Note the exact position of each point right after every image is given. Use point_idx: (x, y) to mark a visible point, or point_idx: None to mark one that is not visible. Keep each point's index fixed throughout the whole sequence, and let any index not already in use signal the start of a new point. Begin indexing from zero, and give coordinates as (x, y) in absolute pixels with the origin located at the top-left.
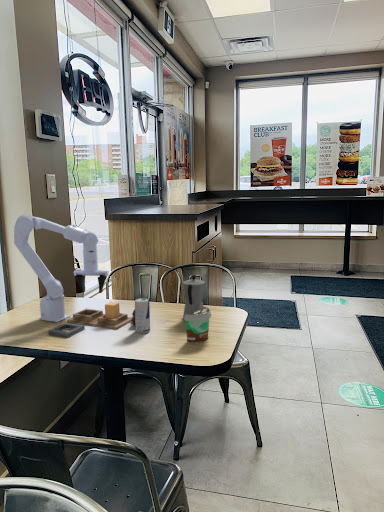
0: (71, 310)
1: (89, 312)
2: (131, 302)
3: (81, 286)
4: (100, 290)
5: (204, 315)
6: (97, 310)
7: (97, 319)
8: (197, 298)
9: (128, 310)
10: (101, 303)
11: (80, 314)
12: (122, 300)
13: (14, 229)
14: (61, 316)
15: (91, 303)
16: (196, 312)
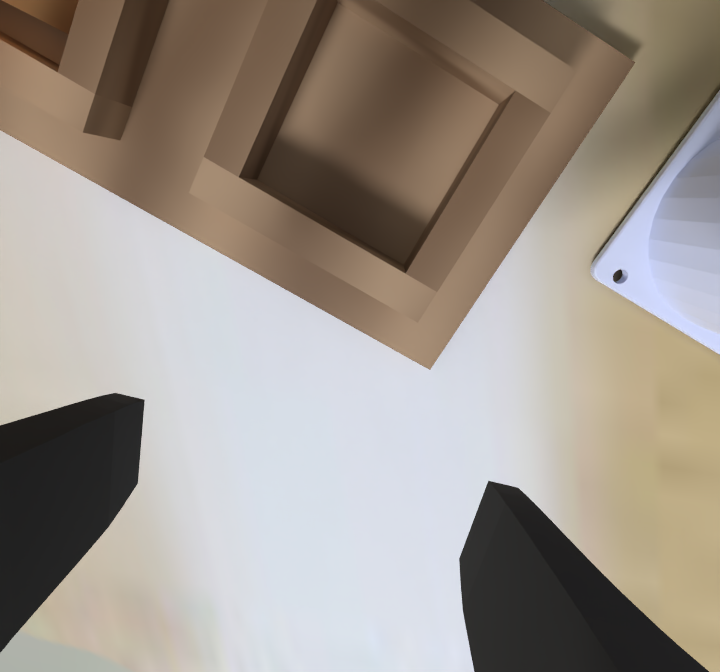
0: (584, 480)
1: (369, 248)
2: (60, 606)
3: (577, 582)
4: (69, 405)
5: None
6: (259, 217)
7: (245, 28)
8: None
9: (18, 388)
10: (320, 627)
11: (465, 49)
12: (152, 669)
13: None
14: (713, 153)
15: (411, 643)
16: None
